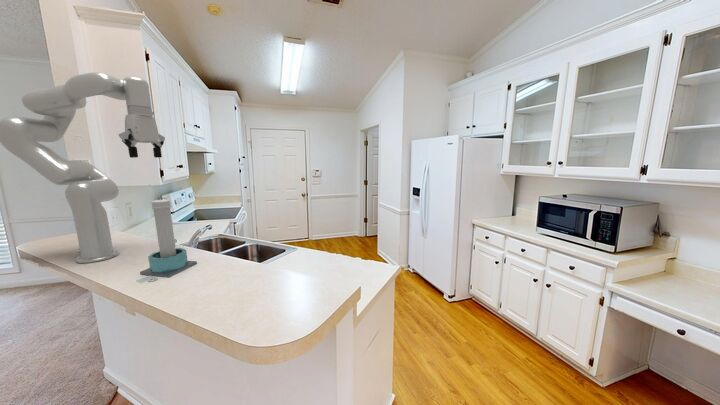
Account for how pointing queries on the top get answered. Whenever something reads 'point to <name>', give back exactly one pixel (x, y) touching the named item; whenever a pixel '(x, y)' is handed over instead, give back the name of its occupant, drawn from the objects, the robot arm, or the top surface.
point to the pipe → (164, 227)
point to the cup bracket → (168, 264)
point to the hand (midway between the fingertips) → (146, 157)
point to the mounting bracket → (147, 279)
